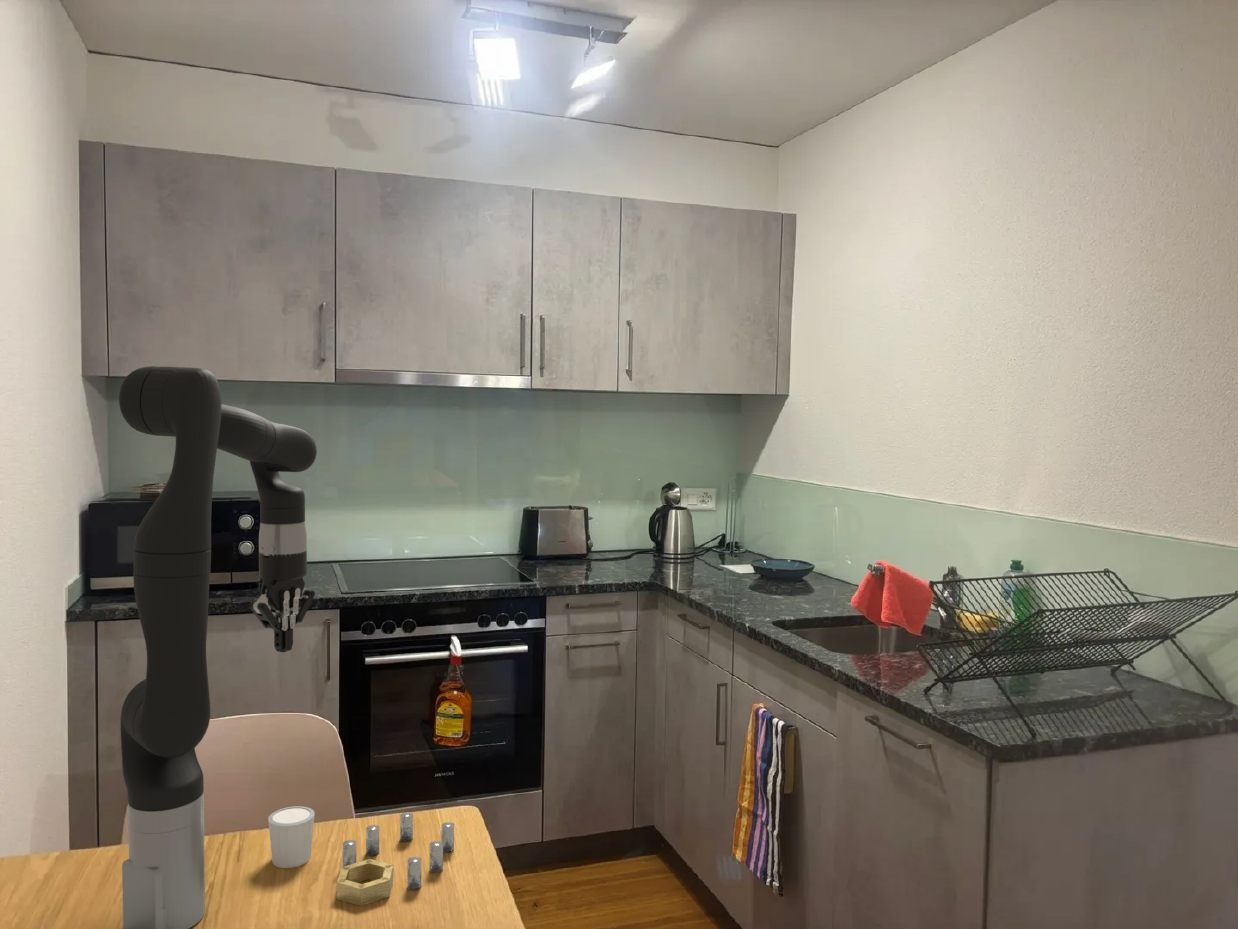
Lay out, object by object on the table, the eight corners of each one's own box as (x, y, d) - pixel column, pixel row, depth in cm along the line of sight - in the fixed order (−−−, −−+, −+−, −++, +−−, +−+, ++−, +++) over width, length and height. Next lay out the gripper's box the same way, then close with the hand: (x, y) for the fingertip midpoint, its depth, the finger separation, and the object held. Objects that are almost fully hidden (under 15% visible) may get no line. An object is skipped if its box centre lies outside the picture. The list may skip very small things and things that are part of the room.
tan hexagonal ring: (372, 909, 128) (372, 892, 128) (324, 895, 132) (324, 879, 132) (405, 884, 135) (405, 868, 135) (358, 872, 139) (358, 856, 138)
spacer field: (415, 891, 133) (416, 864, 133) (339, 870, 139) (339, 844, 139) (467, 850, 146) (467, 826, 145) (395, 832, 151) (395, 809, 151)
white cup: (299, 872, 138) (299, 827, 138) (258, 867, 139) (258, 822, 139) (323, 851, 145) (323, 808, 144) (283, 846, 146) (283, 803, 146)
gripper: (294, 542, 160) (294, 639, 161) (235, 552, 148) (236, 658, 149) (328, 545, 157) (328, 644, 158) (270, 556, 145) (271, 664, 146)
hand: (283, 650), depth 154 cm, fingers closed
